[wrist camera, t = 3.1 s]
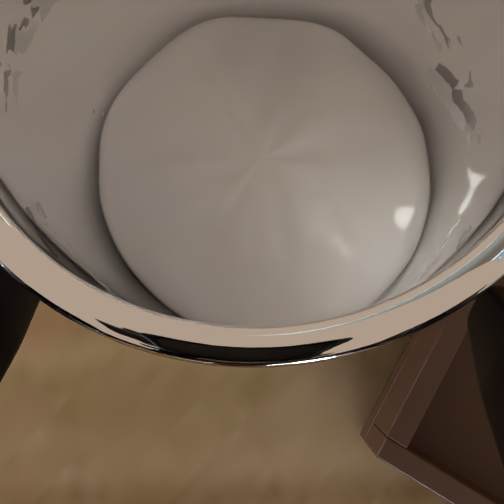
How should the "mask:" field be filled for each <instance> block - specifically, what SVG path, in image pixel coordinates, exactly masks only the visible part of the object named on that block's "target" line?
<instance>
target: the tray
mask: <svg viewBox="0 0 504 504" xmlns="http://www.w3.org/2000/svg"><path fill="white" fill-rule="evenodd" d="M494 285H498V286H504V277H502V278H501V279H500V280H499V281H497V282H496V283H495V284H494ZM475 300H476V298H475V299H474V300H472V301H471V302H469V303H468V304H466V305H465V306H463V307H462V308H460V309H459V310H457V311H455V312H454V313H452V314H450V315H449V316H447V317H445V318H443V319H442V320H440V321H438V322H436V323H434V324H432V325H430V326H428V327H426V328H425V329H423V330H420V331H418V332H416V333H414V334H413V335H412V337H411V339H410V341H409V343H408V345H407V346H406V348H405V350H404V352H403V354H402V356H401V358H400V360H399V362H398V363H397V365H396V367H395V369H394V371H393V373H392V375H391V377H390V379H389V380H388V382H387V384H386V386H385V388H384V390H383V392H382V394H381V396H380V397H379V399H378V401H377V403H376V405H375V407H374V409H373V411H372V413H371V414H370V416H369V418H368V420H367V422H366V424H365V426H364V428H363V430H362V431H361V436H362V438H363V439H364V441H365V442H366V443H367V445H368V446H369V447H370V449H371V450H372V451H373V453H374V454H375V455H376V457H377V458H379V459H380V460H382V461H383V462H385V463H387V464H388V465H390V466H392V467H393V468H395V469H396V470H398V471H400V472H401V473H403V474H405V475H406V476H408V477H409V478H411V479H413V480H414V481H416V482H418V483H419V484H421V485H422V486H424V487H426V488H427V489H429V490H431V491H432V492H434V493H435V494H437V495H439V496H440V497H442V498H444V499H445V500H447V501H448V502H450V503H452V504H504V468H503V465H502V462H501V459H500V455H499V452H498V449H497V446H496V443H495V440H494V436H493V433H492V430H491V427H490V424H489V421H488V417H487V414H486V411H485V408H484V404H483V401H482V397H481V393H480V389H479V385H478V379H477V374H476V369H475V364H474V358H473V353H472V348H471V343H470V337H469V332H468V326H467V319H468V315H469V312H470V310H471V308H472V306H473V304H474V302H475Z"/></svg>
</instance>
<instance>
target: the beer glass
mask: <svg viewBox="0 0 504 504" xmlns="http://www.w3.org/2000/svg"><path fill="white" fill-rule="evenodd" d="M0 266H1V267H2V268H3V269H4V270H5V271H6V272H7V273H8V274H9V275H10V276H11V277H12V278H13V279H14V280H15V281H17V282H18V283H19V284H20V285H21V286H22V287H24V288H25V289H26V290H27V291H29V292H30V293H31V294H33V295H34V296H35V297H37V298H38V299H39V300H41V301H42V302H44V303H45V304H46V305H48V306H49V307H51V308H52V309H54V310H55V311H57V312H59V313H60V314H62V315H63V316H65V317H67V318H68V319H70V320H72V321H74V322H75V323H77V324H79V325H81V326H83V327H85V328H87V329H89V330H91V331H93V332H95V333H97V334H99V335H101V336H104V337H106V338H108V339H111V340H113V341H116V342H118V343H120V344H123V345H126V346H129V347H132V348H135V349H138V350H141V351H144V352H147V353H151V354H154V355H158V356H162V357H166V358H170V359H174V360H180V361H185V362H191V363H197V364H204V365H211V366H222V367H238V368H273V367H287V366H297V365H305V364H313V363H319V362H325V361H330V360H335V359H339V358H344V357H348V356H352V355H355V354H359V353H362V352H366V351H369V350H372V349H375V348H378V347H381V346H384V345H387V344H390V343H392V342H395V341H397V340H400V339H402V338H405V337H407V336H409V335H412V334H414V333H416V332H418V331H420V330H423V329H425V328H426V327H428V326H430V325H432V324H434V323H436V322H438V321H440V320H442V319H443V318H445V317H447V316H449V315H450V314H452V313H454V312H455V311H457V310H459V309H460V308H462V307H463V306H465V305H466V304H468V303H469V302H471V301H472V300H474V299H475V298H477V297H478V296H479V295H481V294H482V293H483V292H485V291H486V290H487V289H489V288H490V287H491V286H492V285H494V284H495V283H496V282H497V281H499V280H500V279H501V278H502V277H504V0H0Z"/></svg>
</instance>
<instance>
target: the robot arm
mask: <svg viewBox="0 0 504 504" xmlns="http://www.w3.org/2000/svg"><path fill="white" fill-rule="evenodd" d="M39 301H40V300H39V299H38V298H37V297H35V296H34V295H33V294H31V293H30V292H29V291H27V290H26V289H25V288H24V287H22V286H21V285H20V284H19V283H18V282H17V281H15V280H14V279H13V278H12V277H11V276H10V275H9V274H8V273H7V272H6V271H5V270H4V269H3V268H2V267H1V266H0V382H1V380H2V378H3V376H4V375H5V373H6V371H7V369H8V368H9V366H10V364H11V362H12V360H13V359H14V357H15V355H16V353H17V351H18V349H19V347H20V345H21V343H22V341H23V339H24V336H25V334H26V332H27V329H28V327H29V325H30V322H31V320H32V318H33V315H34V313H35V311H36V308H37V306H38V303H39ZM467 326H468V332H469V337H470V343H471V348H472V353H473V358H474V364H475V369H476V374H477V379H478V385H479V389H480V393H481V397H482V401H483V404H484V408H485V411H486V414H487V417H488V421H489V424H490V427H491V430H492V433H493V436H494V440H495V443H496V446H497V449H498V452H499V455H500V459H501V462H502V465H503V468H504V286H498V285H492V286H491V287H490V288H489V289H487V290H486V291H485V292H483V293H482V294H481V295H479V296H478V297H477V298H476V300H475V302H474V304H473V306H472V308H471V310H470V312H469V315H468V319H467Z"/></svg>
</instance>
